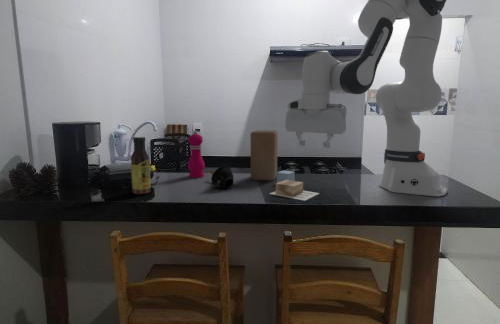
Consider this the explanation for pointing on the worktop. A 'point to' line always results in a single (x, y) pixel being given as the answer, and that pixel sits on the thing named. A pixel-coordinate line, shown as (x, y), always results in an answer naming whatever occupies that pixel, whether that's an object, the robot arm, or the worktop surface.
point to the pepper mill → (196, 156)
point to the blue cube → (285, 176)
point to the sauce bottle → (140, 167)
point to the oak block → (289, 187)
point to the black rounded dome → (222, 177)
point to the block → (264, 154)
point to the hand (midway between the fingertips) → (313, 146)
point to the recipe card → (299, 195)
